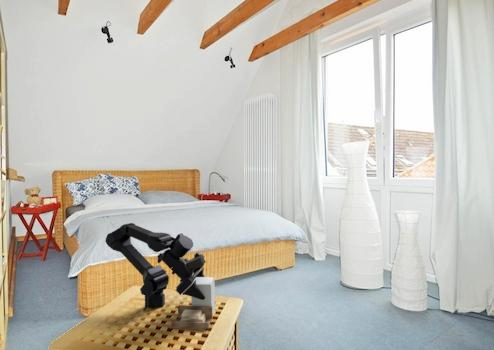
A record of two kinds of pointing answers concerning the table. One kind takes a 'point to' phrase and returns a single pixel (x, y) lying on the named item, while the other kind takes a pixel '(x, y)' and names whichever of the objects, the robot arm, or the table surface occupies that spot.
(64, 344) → the table surface
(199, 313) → the offcut stack
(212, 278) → the supplement box
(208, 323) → the tray
